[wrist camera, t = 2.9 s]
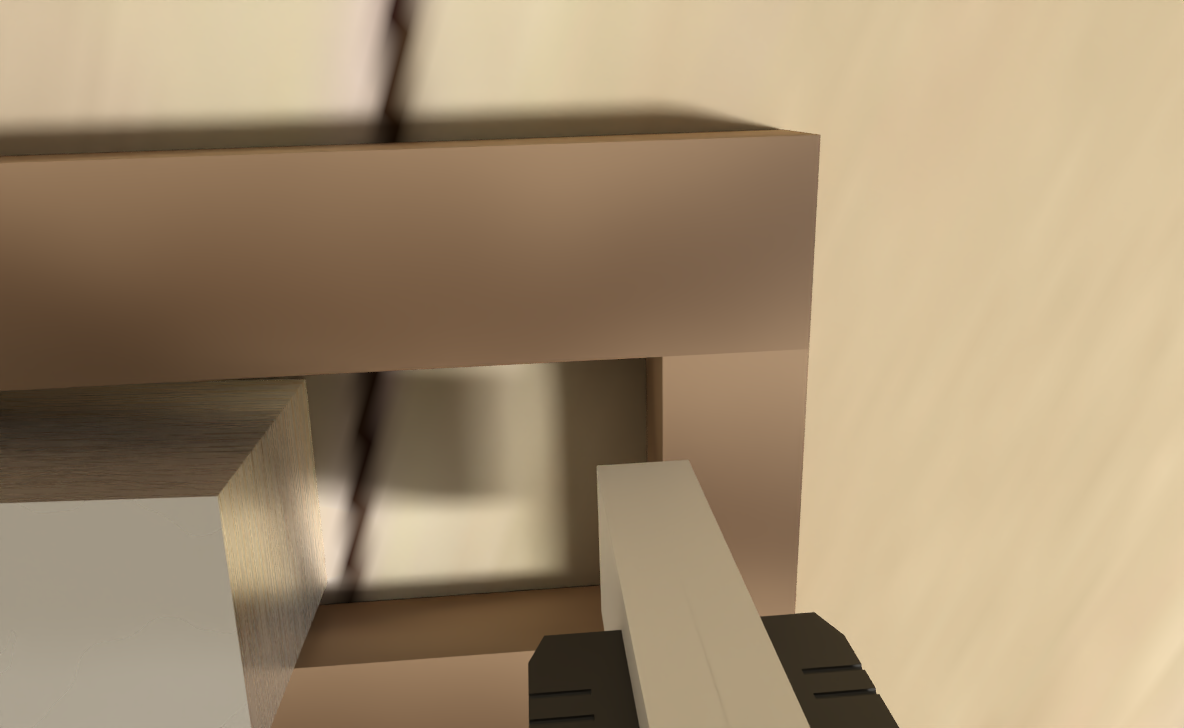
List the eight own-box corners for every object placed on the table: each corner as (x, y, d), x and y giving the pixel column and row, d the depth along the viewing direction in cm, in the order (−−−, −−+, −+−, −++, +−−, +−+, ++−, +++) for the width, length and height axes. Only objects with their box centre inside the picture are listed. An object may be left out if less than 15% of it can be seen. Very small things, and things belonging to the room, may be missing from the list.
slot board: (-291, 166, 14) (-421, 177, 12) (782, 129, 15) (819, 134, 13) (-81, 777, 18) (-153, 859, 16) (759, 710, 19) (785, 778, 17)
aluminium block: (-144, 386, 15) (-440, 517, 11) (307, 376, 16) (217, 496, 11) (-85, 596, 17) (-325, 795, 12) (329, 579, 17) (256, 763, 13)
